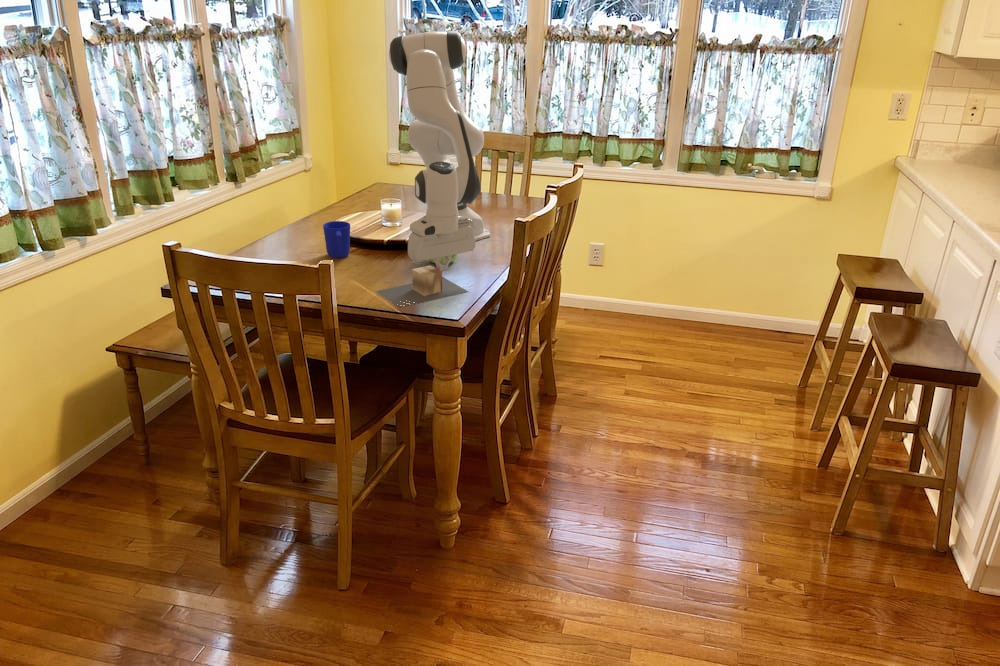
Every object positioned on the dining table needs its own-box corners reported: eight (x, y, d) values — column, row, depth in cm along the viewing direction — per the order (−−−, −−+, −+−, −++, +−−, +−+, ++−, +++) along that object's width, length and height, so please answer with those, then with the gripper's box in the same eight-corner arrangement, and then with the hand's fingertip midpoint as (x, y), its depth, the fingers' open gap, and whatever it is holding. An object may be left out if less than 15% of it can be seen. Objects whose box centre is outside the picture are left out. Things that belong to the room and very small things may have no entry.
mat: (442, 278, 235) (442, 276, 235) (468, 293, 225) (468, 291, 225) (375, 292, 224) (375, 291, 223) (399, 309, 213) (399, 307, 213)
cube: (430, 265, 226) (412, 269, 223) (442, 271, 222) (423, 275, 219) (430, 285, 229) (412, 289, 226) (442, 291, 224) (423, 295, 221)
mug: (327, 264, 243) (325, 233, 239) (324, 252, 254) (322, 221, 249) (354, 263, 245) (352, 231, 241) (350, 250, 256) (348, 220, 251)
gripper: (467, 214, 228) (467, 261, 234) (404, 225, 217) (405, 273, 223) (480, 220, 223) (479, 267, 229) (416, 231, 212) (416, 280, 218)
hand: (442, 270), depth 226 cm, fingers closed
